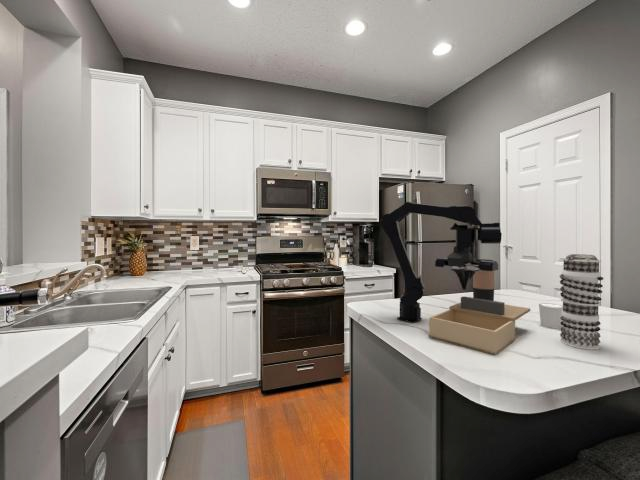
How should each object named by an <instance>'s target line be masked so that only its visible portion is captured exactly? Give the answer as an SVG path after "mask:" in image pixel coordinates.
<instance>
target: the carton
mask: <svg viewBox="0 0 640 480" xmlns="http://www.w3.org/2000/svg"><path fill="white" fill-rule="evenodd" d="M428 320H429V321H428V327H429V328H428V334H429V335H428V338H431V339H435V340H438V341H441V342H442V341H443V342H444V343H449V344H452V345H456V346H459V347H460V346H461V347H465V348H467V349H471V350H474V351H478V352H482V353H486V354H489V355H493V356H497V355H498V354H499V353H500V352H502V351H503V350H504V349H506V348H507V347H508V346H509V345H511V344H512V343H513V342H515V341H516V320H515V321H511V320H505V319H500V318H495V317H489V316H484V315H479V314H473V313H468V312H463V311H457V310H452V309H448V310H445V311H443V312H439V313H436V314H435V315H431V316H429V319H428Z"/></svg>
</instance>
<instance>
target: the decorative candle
mask: <svg viewBox="0 0 640 480" xmlns="http://www.w3.org/2000/svg"><path fill="white" fill-rule="evenodd" d="M562 260H563V266H562V267H563V269H562V273H561V274H560V275H559V278H560V279H561V280H559V283H560V284H561V285H562V286H561V287H560V288H559V289H560V291H561V292H560V294H559V295H560V297H562V298H560V301H561V302H562V306H563V310H562V316H561V317H560V318H561V320H563V321H562V322H561V325H562V327H561V328H560V329H559V330H560V334H559V335H560V339H559V340H560V342H561V343H562V344H564V345H566V346H570V347H573V348H577V349H582V350H591V351H593V350H594V351H595V350H599V349H600V348H601V346H600V343H601V340H600V338H601V334H600V332H599V331H601V322H600V315H599V306H601V302H600V301H602V300H603V299H602V297H600V296H599V295H601V294H602V293H603V291H602V290H601V288H603V284H601V283H599V282H600V281H602V280H604V276H603V277H602V276H601V271H600V263H601V260H599V259H598V258H597V256H596V255H593V254H586V253H585V254H580V253H576V254H575V253H573V254H571V253H569V254H567V256H566V257H565V258H564V259H562Z"/></svg>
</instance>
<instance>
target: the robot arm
mask: <svg viewBox="0 0 640 480" xmlns="http://www.w3.org/2000/svg"><path fill="white" fill-rule="evenodd" d="M410 214H416V215H421V216H430V217H437V218H445V219H448V220H451V221H454V223H453V225H452V226H451V227H449V229H450V231H455V246H453V251H452V252H451V253H450V254H448V255H447V257H440V258H436V259H435V261H434V267H436V268H437V267H438V268H444V267H445V266H448V267H451V268H450V271H452V272H453V271H454V273H455V274H456V276H457V277H458V279H459V280H458V281H459V283H460V286H461V289H462V290H464V291H466V290H467V289H468V288H469V286H470V283H471V281H472V280H473V279H472V278H473V275H474V274H475V272H476V271H479V269H480V270H483V271H494V272H495V271H498V270H499V263H498V262H497V261H496V260H493V261H480V262H476V259H477V258H476V257H475V250H476V249H477V246H475V245H476V244H475V243H476V242H475V235H476V241H479V243H480V244H488V245H489V244H495V245H496V244H498V245H499V244H501V243H502V237H503V236H502V232H501V223H500V222H492V223H482V221H481V220H479V219H480V218H478V217H477V216H476V210H475V209H474V208H473V207H472V206H470V205H455V206H454V205H451V206H449V205H448V206H443V205H436V204H435V205H433V204H427V203H426V204H425V203H418V202H417V203H416V202H412V201H406V202H404V203H403V204H402V205H401V206H399V207H398V208H396V209H394V210H393V211H392V212H390V213H385V214H383V215H382V216H381V217H380V220H379V225H380V226H381V228H382V230H383V232H384V233H385V234H386V236H387V237H388V239H389V241H390V243H391V246H392V248H393V252H394V254H395V256H396V257H395V258H396V259H397V262H398V264H399V267H400V269H401V272H402V275H403V281H404V287H405V292H403V293H402V294H401V295H400V297H399V316H398V317H397V318H396V320H400V321H404V322H408V323H416V322H419V321H422V320H423V317H422V309H421V306H420V305H421V304H420V302H418V301H419V300H420V299H421V300H422V298H423V296H424V293H425V289H426V288H425V287H426V284H424V282H423V277H422V275H417V273H416V272H415V270H414V267H413V265H412V263H411V260H410V258H409V255H408V251H407V249H406V247H405V244H404V242H403V239H402V236H401V228H400V223H399V222H401V221H403V220H405V218H406V217H407V216H409V215H410ZM456 222H457V223H460V224H457V223H456ZM468 225H470V226H471V227H468ZM475 231H476V233H475ZM478 268H479V269H478Z"/></svg>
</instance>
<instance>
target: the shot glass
mask: <svg viewBox="0 0 640 480" xmlns="http://www.w3.org/2000/svg"><path fill="white" fill-rule="evenodd" d="M538 308H539V319H540V326H542V327H544V328H548V329H555V330H557V329H559V330H560V328H561V327H563V326H562V325H561V322H562V321H563V320H561V318H560V317H561V316H562V310H563V305H561V304H555V303H551V302H550V303H547V302H542V303H538Z"/></svg>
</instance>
